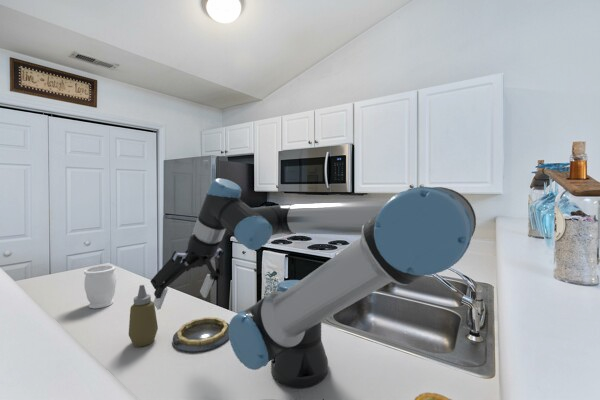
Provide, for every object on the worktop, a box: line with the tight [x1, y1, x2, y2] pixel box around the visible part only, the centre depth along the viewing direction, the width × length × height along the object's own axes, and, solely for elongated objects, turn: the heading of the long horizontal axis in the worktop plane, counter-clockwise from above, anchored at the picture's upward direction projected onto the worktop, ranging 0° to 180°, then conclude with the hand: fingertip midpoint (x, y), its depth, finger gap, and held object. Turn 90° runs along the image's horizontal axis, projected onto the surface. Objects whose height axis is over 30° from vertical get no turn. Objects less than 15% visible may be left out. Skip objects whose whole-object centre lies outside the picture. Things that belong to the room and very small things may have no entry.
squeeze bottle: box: [128, 284, 159, 348], centre depth 88 cm, size 8×8×18 cm
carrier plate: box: [172, 317, 230, 354], centre depth 91 cm, size 18×18×2 cm
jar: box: [83, 264, 117, 310], centre depth 115 cm, size 11×10×15 cm
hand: (181, 299), depth 78 cm, fingers open, 13 cm apart
